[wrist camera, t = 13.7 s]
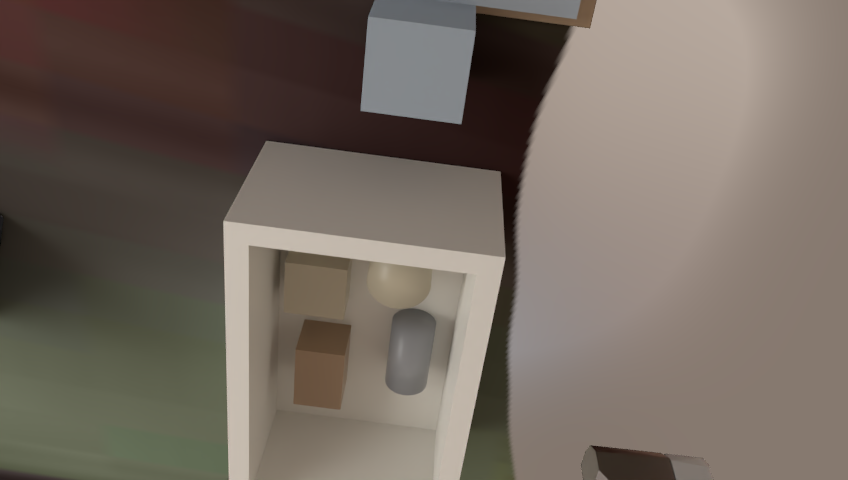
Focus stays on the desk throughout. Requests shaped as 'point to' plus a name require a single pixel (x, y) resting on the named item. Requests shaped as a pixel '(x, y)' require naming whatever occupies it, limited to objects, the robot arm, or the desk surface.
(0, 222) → the small box
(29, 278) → the desk surface
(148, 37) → the desk surface
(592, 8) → the pad
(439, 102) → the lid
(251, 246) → the tub
